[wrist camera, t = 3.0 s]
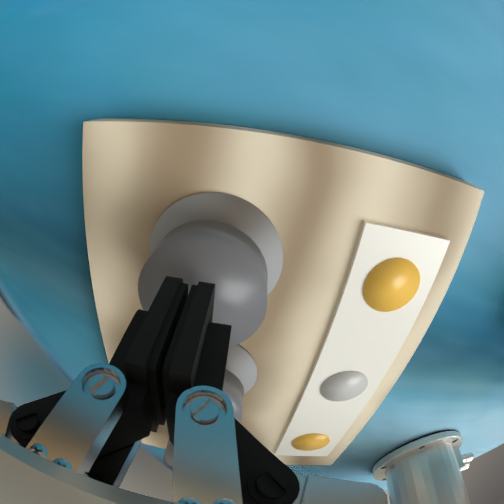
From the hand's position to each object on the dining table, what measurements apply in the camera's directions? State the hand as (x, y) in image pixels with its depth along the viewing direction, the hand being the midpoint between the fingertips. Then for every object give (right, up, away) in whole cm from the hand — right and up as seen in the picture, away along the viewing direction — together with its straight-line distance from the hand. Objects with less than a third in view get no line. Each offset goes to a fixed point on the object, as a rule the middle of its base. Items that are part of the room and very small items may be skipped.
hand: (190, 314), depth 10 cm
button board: (+2, -5, +10) cm, 11 cm away
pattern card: (+8, -7, +8) cm, 13 cm away
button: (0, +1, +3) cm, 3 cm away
